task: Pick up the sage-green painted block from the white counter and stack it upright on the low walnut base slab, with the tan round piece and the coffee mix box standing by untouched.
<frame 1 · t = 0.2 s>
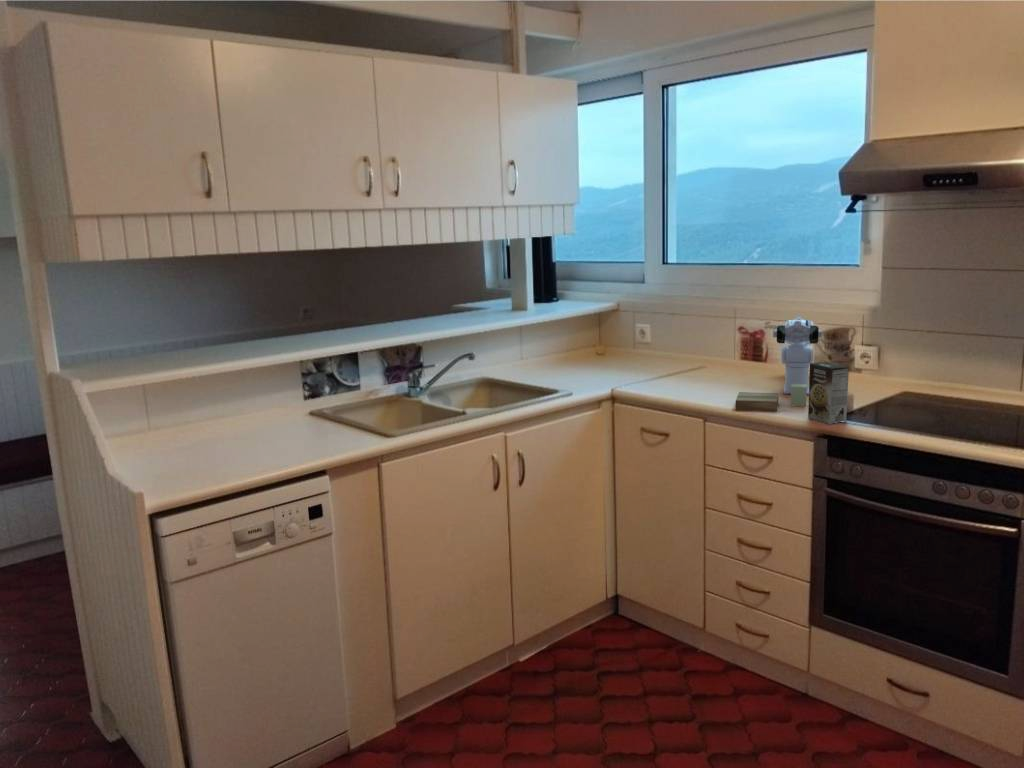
hand: (797, 337, 249), 21 cm above the table, tool horizontal, fingers open, 7 cm apart
walnut base: (757, 406, 253), on the table
coffee box: (826, 420, 234), on the table
tan round piece: (844, 410, 244), on the table
sage block: (798, 404, 254), on the table
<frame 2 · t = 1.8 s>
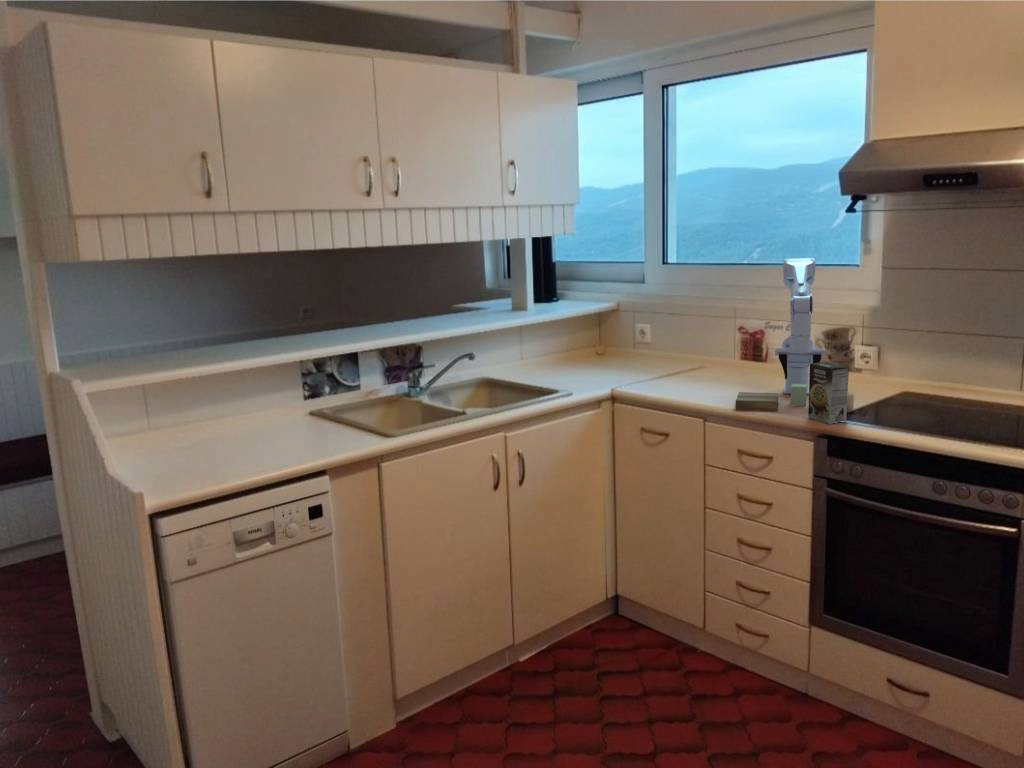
hand: (799, 378, 252), 8 cm above the table, tool pointing down, fingers open, 7 cm apart
nothing on the table moved.
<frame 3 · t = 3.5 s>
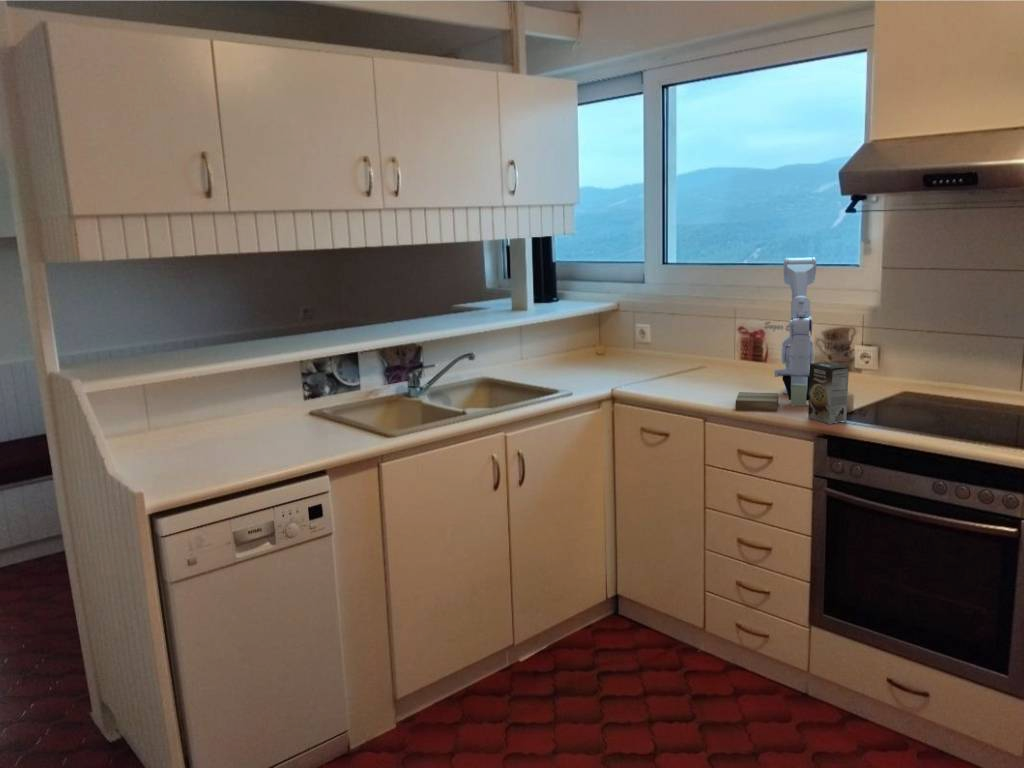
hand: (798, 399, 253), 1 cm above the table, tool pointing down, fingers closed on sage block, 4 cm apart
sage block: (798, 404, 254), on the table, touching gripper
everything else where it was.
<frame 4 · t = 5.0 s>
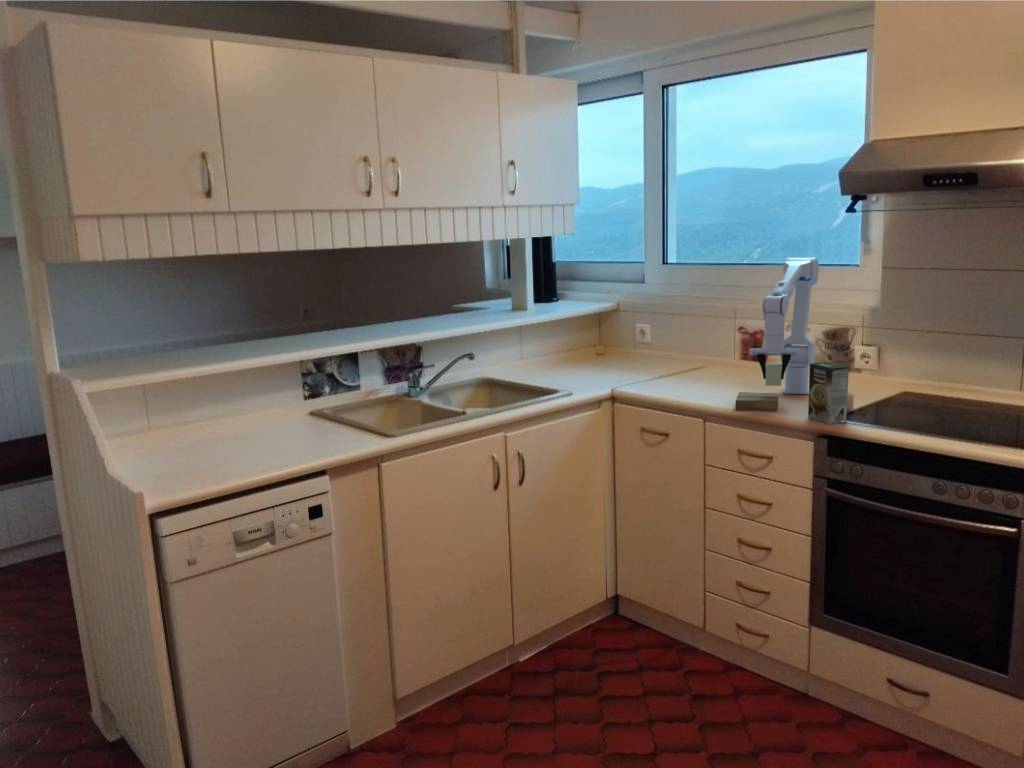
hand: (773, 378, 252), 9 cm above the table, tool pointing down, fingers closed on sage block, 4 cm apart
sage block: (773, 384, 252), point 7 cm above the table, touching gripper
everything else where it was.
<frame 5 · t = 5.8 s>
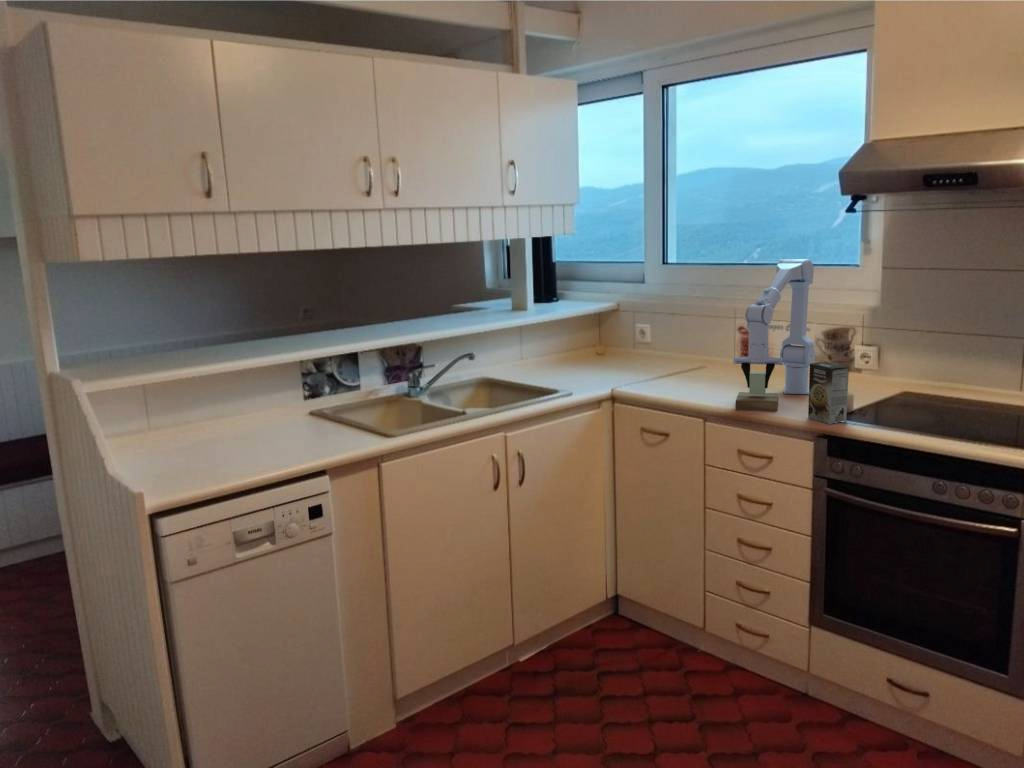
hand: (757, 387, 252), 6 cm above the table, tool pointing down, fingers closed on sage block, 4 cm apart
sage block: (757, 392, 252), point 4 cm above the table, touching gripper
everything else where it was.
when the fingers open (6 cm above the table, at t = 6.6 s): sage block drops 1 cm, resting on walnut base.
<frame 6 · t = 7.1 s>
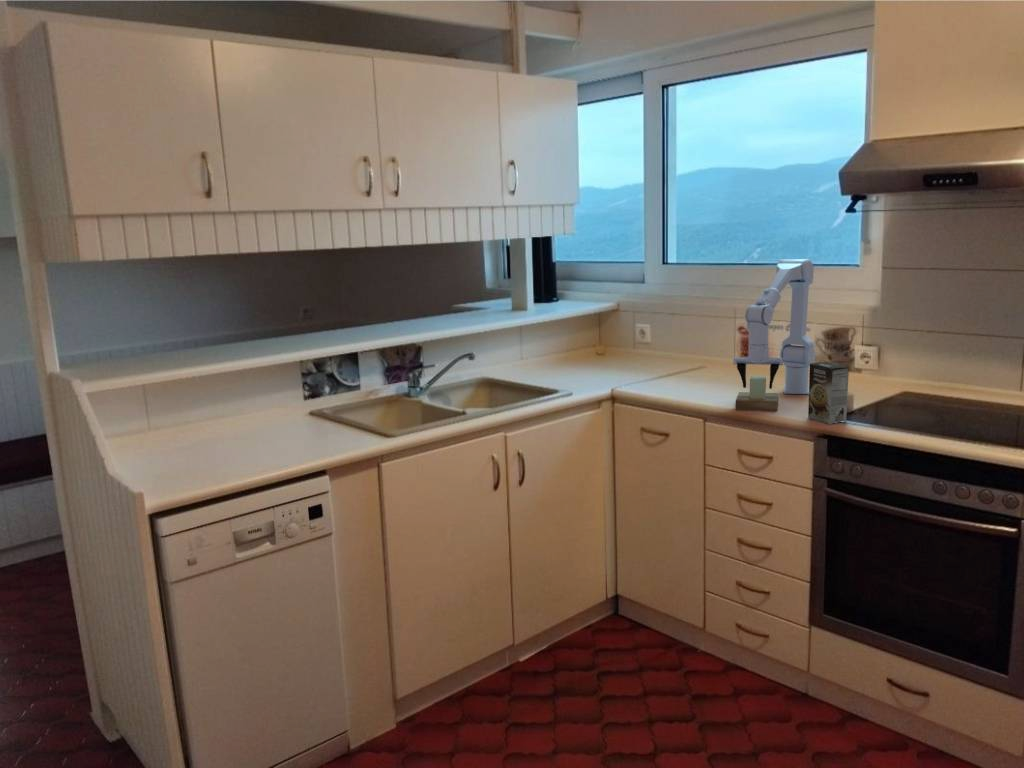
hand: (757, 387, 252), 6 cm above the table, tool pointing down, fingers open, 7 cm apart
sage block: (757, 396, 252), point 3 cm above the table, touching walnut base
everything else where it was.
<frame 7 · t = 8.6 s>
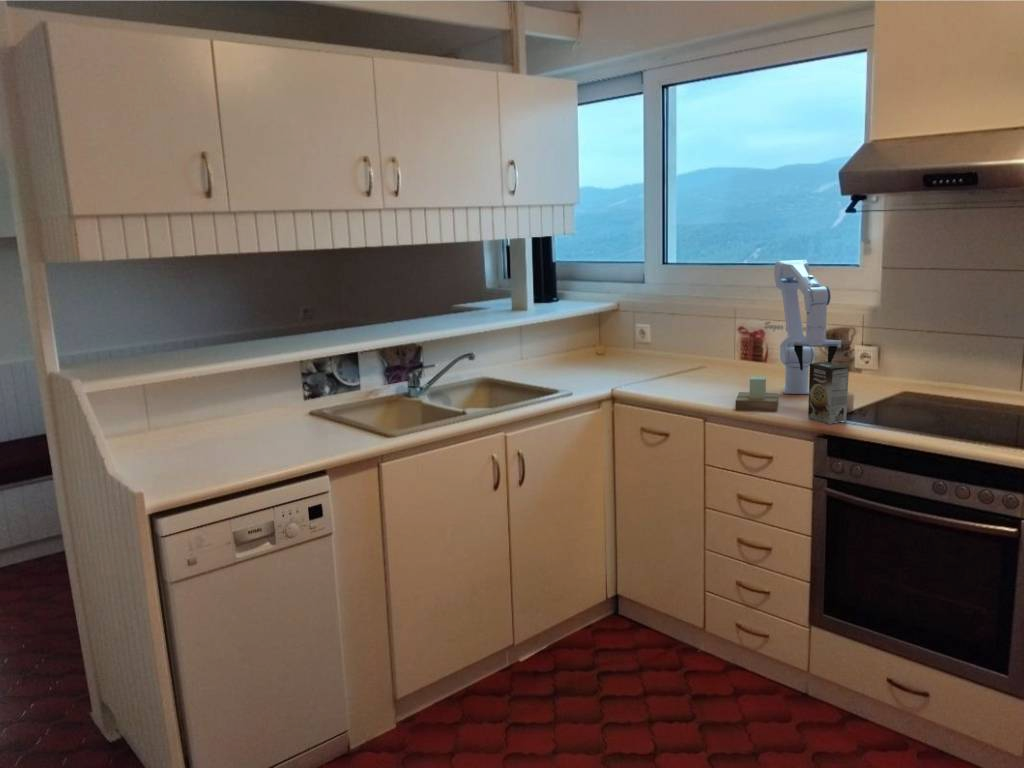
hand: (814, 370, 253), 10 cm above the table, tool pointing down, fingers open, 7 cm apart
nothing on the table moved.
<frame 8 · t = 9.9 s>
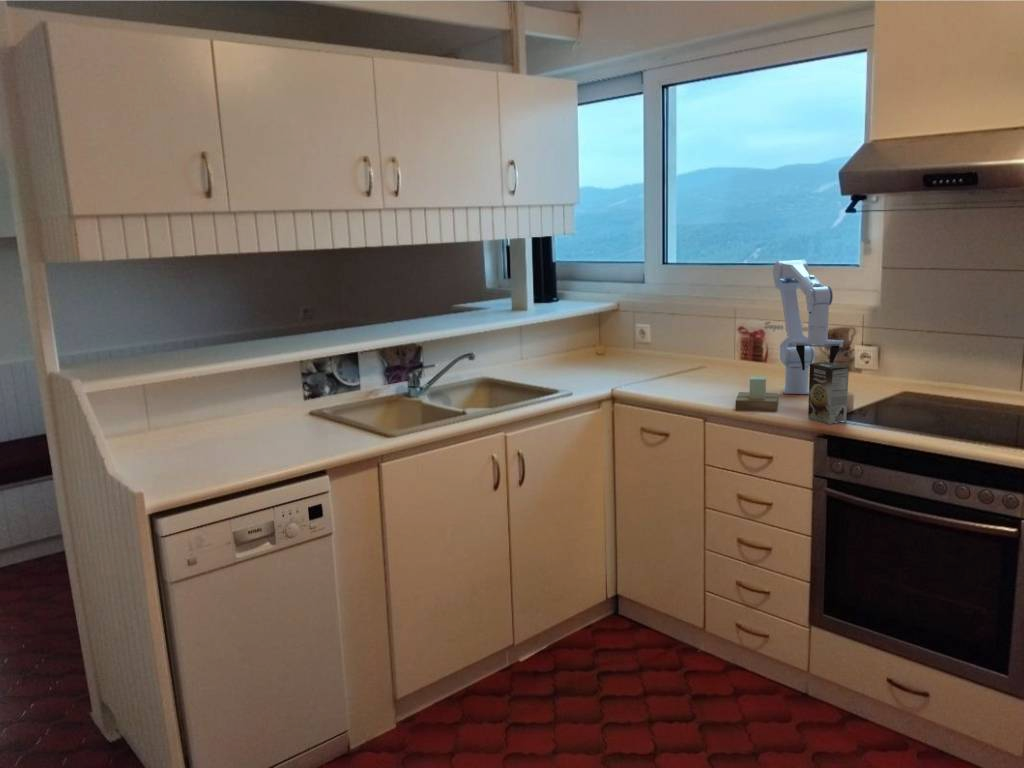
hand: (816, 369, 253), 10 cm above the table, tool pointing down, fingers open, 7 cm apart
nothing on the table moved.
at the end: sage block inside the target area on the walnut base (0.2 cm from its centre), point 3.0 cm above the walnut base's base; sage block tilted 0°; the gripper is holding nothing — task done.
